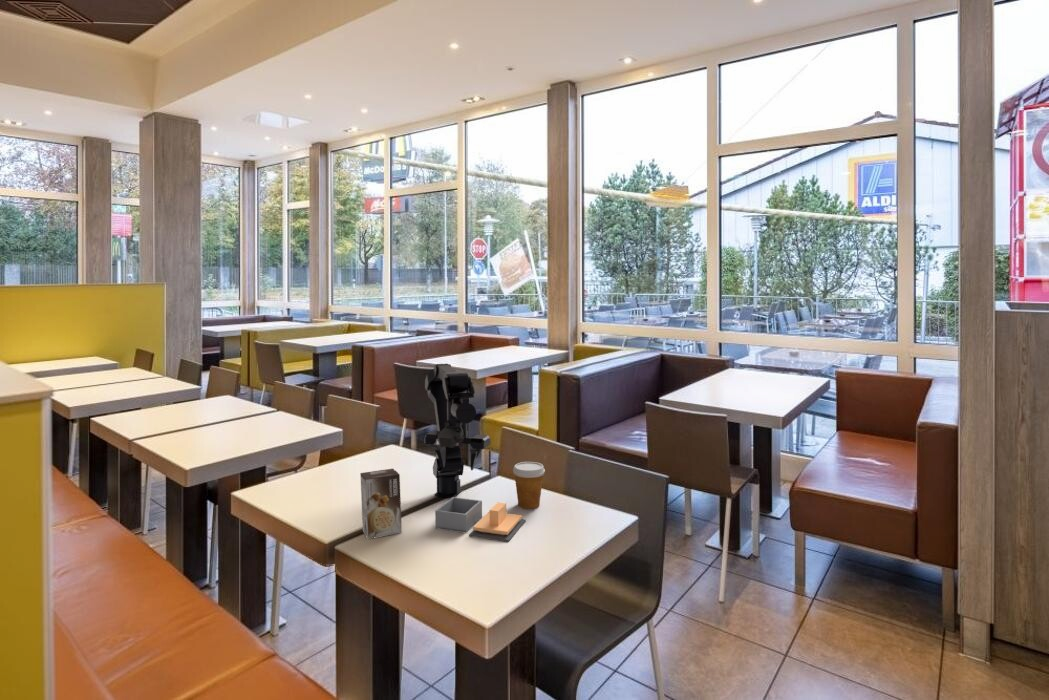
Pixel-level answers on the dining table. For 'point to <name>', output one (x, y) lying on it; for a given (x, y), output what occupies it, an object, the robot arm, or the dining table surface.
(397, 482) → the coffee box
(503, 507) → the lid
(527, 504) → the disposable coffee cup
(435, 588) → the dining table surface
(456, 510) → the tub
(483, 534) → the mat
